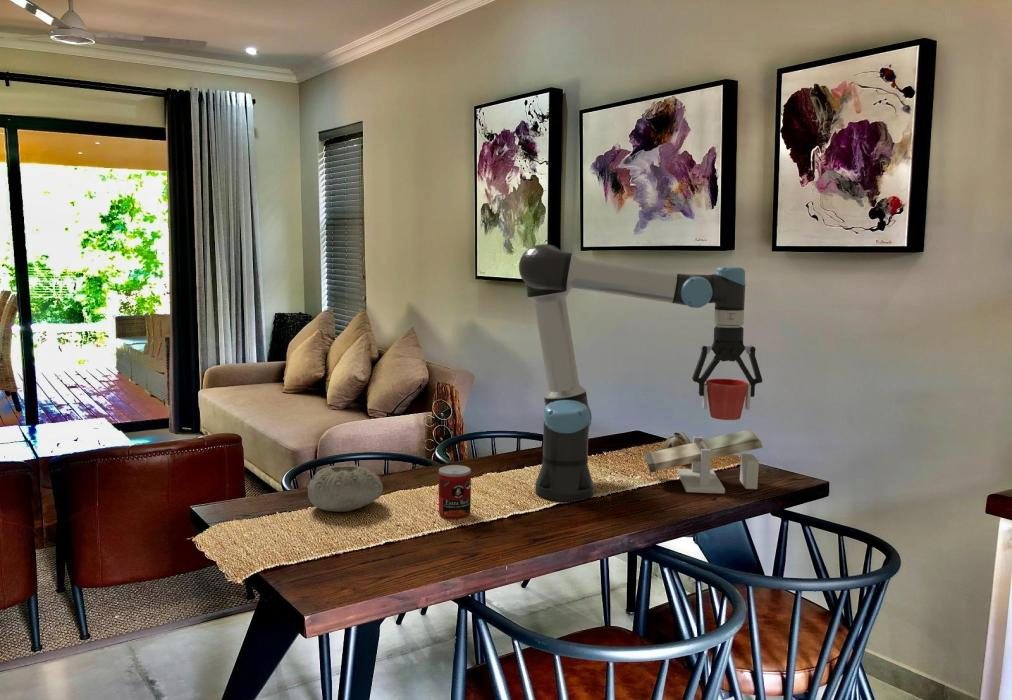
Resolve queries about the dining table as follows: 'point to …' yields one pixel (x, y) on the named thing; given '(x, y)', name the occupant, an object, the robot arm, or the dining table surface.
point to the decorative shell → (344, 488)
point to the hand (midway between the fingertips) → (725, 408)
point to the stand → (707, 480)
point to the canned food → (454, 491)
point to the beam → (693, 450)
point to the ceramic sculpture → (675, 441)
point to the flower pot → (726, 398)
